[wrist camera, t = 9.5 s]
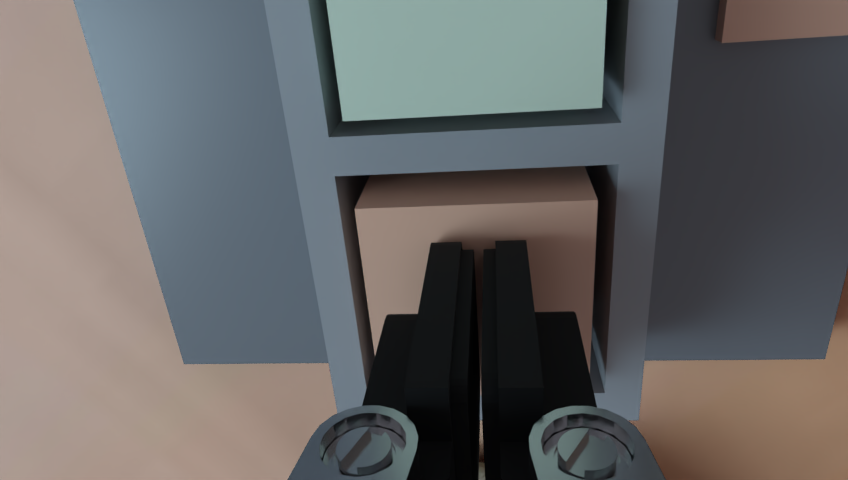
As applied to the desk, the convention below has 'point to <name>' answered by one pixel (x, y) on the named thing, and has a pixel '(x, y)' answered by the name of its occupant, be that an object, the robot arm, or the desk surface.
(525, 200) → the terracotta key
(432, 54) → the sage key
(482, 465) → the ceramic mug
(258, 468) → the desk surface
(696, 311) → the keypad
